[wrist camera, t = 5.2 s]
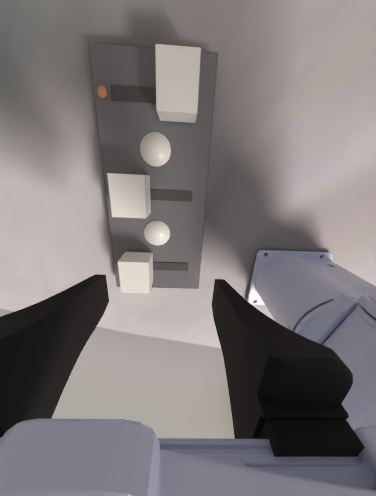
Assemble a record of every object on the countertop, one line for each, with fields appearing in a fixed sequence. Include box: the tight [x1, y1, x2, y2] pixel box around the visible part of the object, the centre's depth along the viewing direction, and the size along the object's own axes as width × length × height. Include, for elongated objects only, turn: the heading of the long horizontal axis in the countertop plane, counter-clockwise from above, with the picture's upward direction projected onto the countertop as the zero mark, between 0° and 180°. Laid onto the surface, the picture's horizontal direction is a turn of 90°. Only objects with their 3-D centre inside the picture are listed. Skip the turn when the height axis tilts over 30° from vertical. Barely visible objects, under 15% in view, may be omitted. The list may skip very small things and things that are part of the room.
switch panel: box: [88, 42, 218, 289], centre depth 18 cm, size 10×22×2 cm, turn 177°
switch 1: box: [107, 173, 151, 218], centre depth 16 cm, size 3×4×2 cm
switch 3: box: [155, 44, 201, 123], centre depth 14 cm, size 3×4×2 cm
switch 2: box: [118, 252, 153, 293], centre depth 19 cm, size 3×4×2 cm
